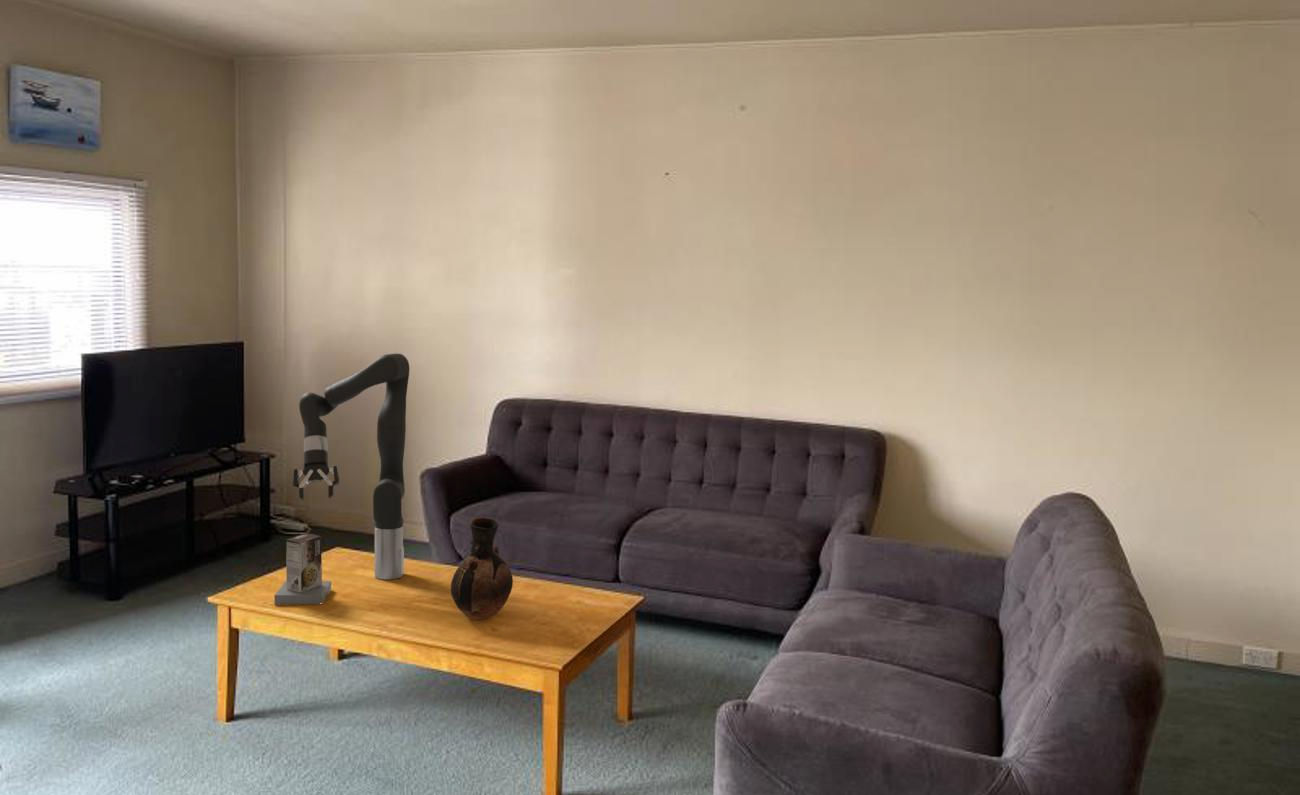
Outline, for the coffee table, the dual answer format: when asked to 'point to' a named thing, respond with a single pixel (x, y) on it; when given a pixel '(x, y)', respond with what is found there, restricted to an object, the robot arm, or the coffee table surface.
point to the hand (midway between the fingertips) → (316, 499)
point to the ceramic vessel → (482, 574)
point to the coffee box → (303, 562)
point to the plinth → (303, 595)
